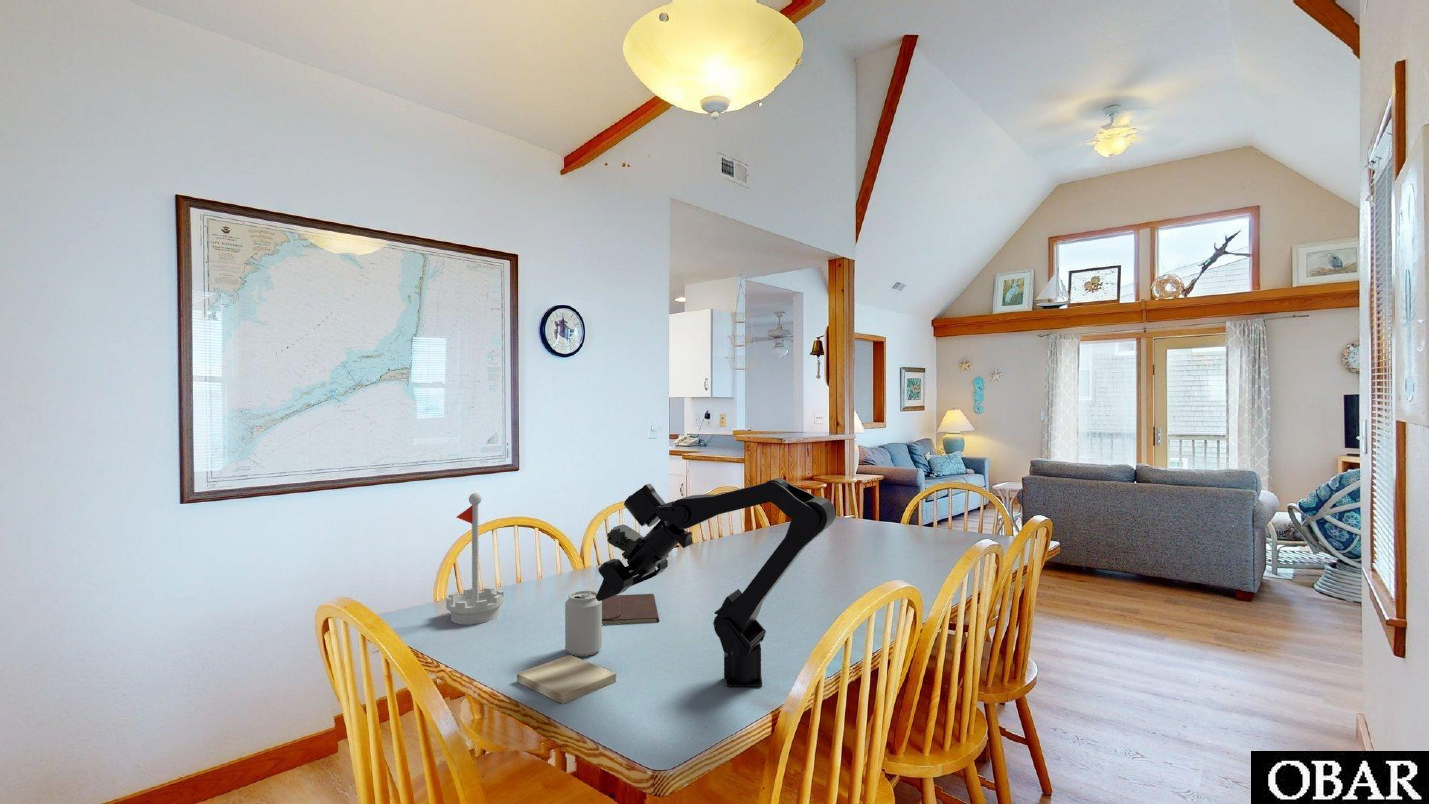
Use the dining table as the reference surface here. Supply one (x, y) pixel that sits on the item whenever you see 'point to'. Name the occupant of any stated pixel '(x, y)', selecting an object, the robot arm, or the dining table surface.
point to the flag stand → (474, 582)
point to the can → (583, 623)
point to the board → (566, 678)
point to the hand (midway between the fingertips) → (610, 593)
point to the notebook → (629, 609)
